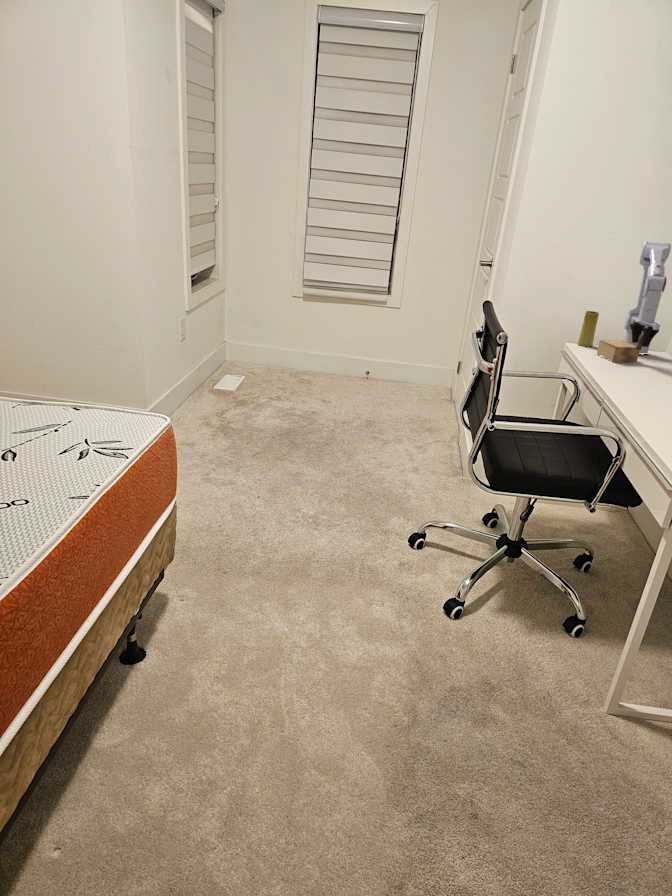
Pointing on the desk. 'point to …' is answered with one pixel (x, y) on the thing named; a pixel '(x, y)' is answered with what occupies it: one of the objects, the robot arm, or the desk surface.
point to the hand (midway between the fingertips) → (639, 344)
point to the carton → (611, 347)
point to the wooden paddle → (628, 352)
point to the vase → (588, 328)
